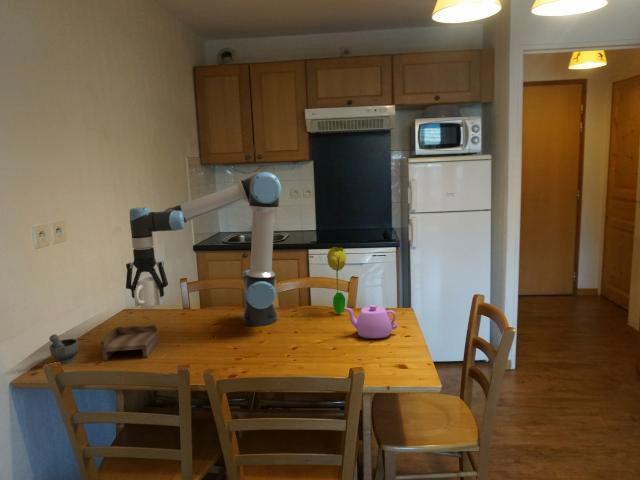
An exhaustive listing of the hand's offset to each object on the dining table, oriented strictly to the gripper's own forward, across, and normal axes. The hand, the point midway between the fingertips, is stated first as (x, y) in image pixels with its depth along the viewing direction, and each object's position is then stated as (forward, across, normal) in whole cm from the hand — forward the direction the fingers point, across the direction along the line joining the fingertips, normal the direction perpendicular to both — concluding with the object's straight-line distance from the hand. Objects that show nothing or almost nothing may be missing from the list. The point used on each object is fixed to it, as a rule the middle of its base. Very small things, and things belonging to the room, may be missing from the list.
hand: (149, 305), depth 188 cm
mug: (0, +1, 0) cm, 1 cm away
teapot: (+15, -86, +5) cm, 87 cm away
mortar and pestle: (+17, +28, +12) cm, 35 cm away
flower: (+15, -75, -22) cm, 80 cm away
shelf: (+16, +6, +6) cm, 18 cm away
